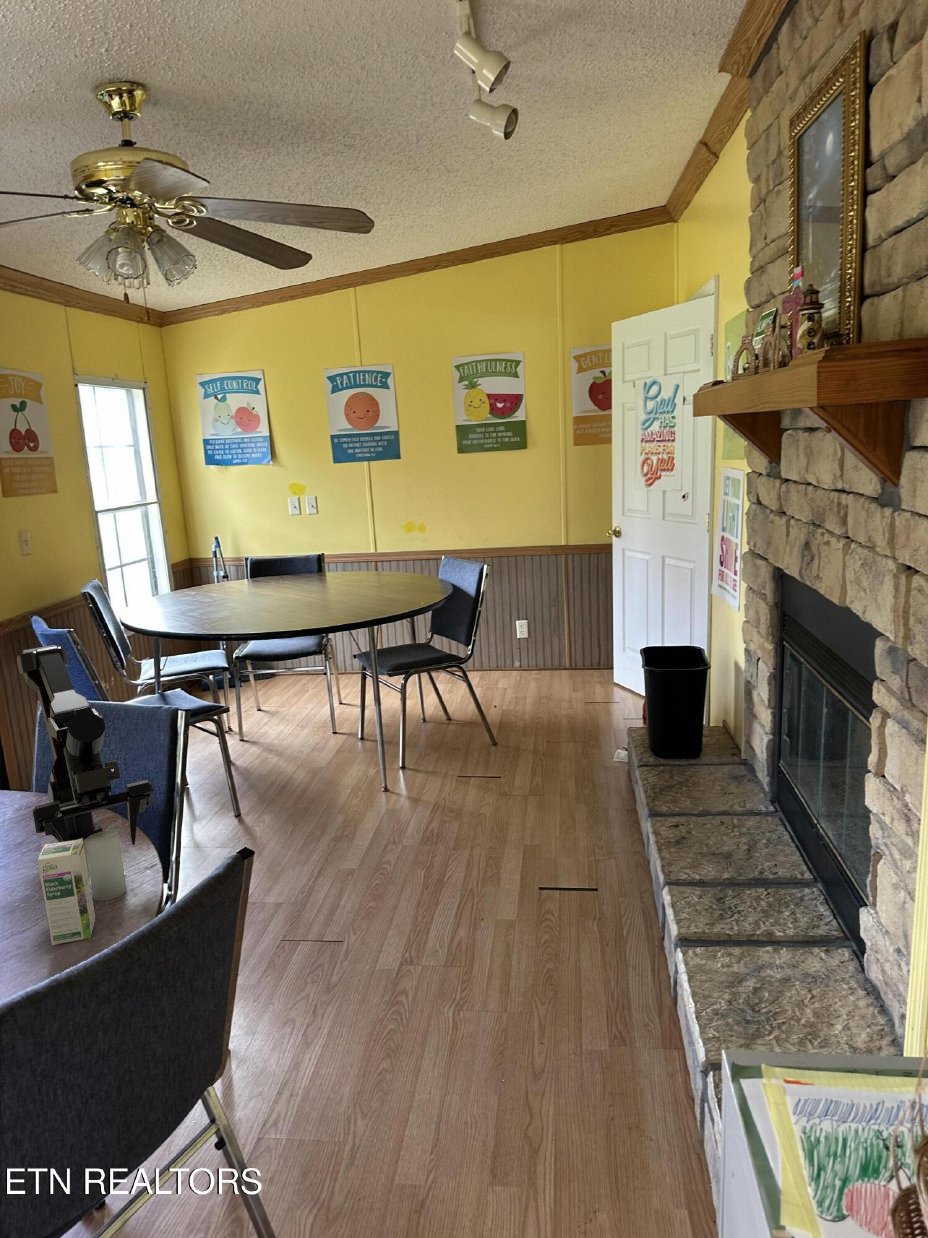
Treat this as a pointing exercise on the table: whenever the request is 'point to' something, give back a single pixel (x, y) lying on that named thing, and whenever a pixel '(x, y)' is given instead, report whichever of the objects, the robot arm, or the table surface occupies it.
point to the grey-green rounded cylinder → (105, 865)
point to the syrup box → (66, 891)
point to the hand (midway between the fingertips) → (104, 852)
